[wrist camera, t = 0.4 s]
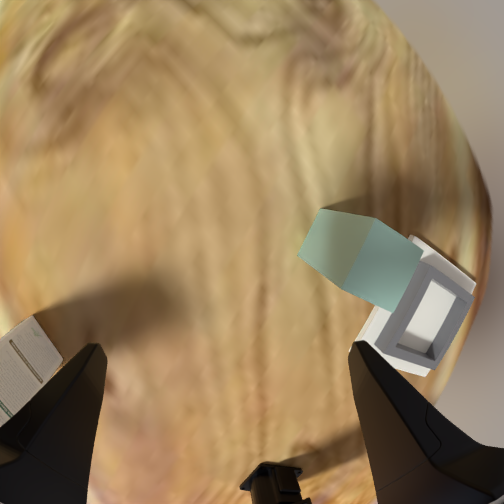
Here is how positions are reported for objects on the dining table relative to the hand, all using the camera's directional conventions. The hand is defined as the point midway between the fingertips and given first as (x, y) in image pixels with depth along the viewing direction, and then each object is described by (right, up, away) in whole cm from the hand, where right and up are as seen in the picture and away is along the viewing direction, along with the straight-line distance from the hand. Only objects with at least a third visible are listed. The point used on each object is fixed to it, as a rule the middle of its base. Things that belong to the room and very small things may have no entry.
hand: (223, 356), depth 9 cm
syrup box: (-22, -6, +14) cm, 26 cm away
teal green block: (+8, +4, +15) cm, 18 cm away
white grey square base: (+19, -3, +18) cm, 27 cm away
